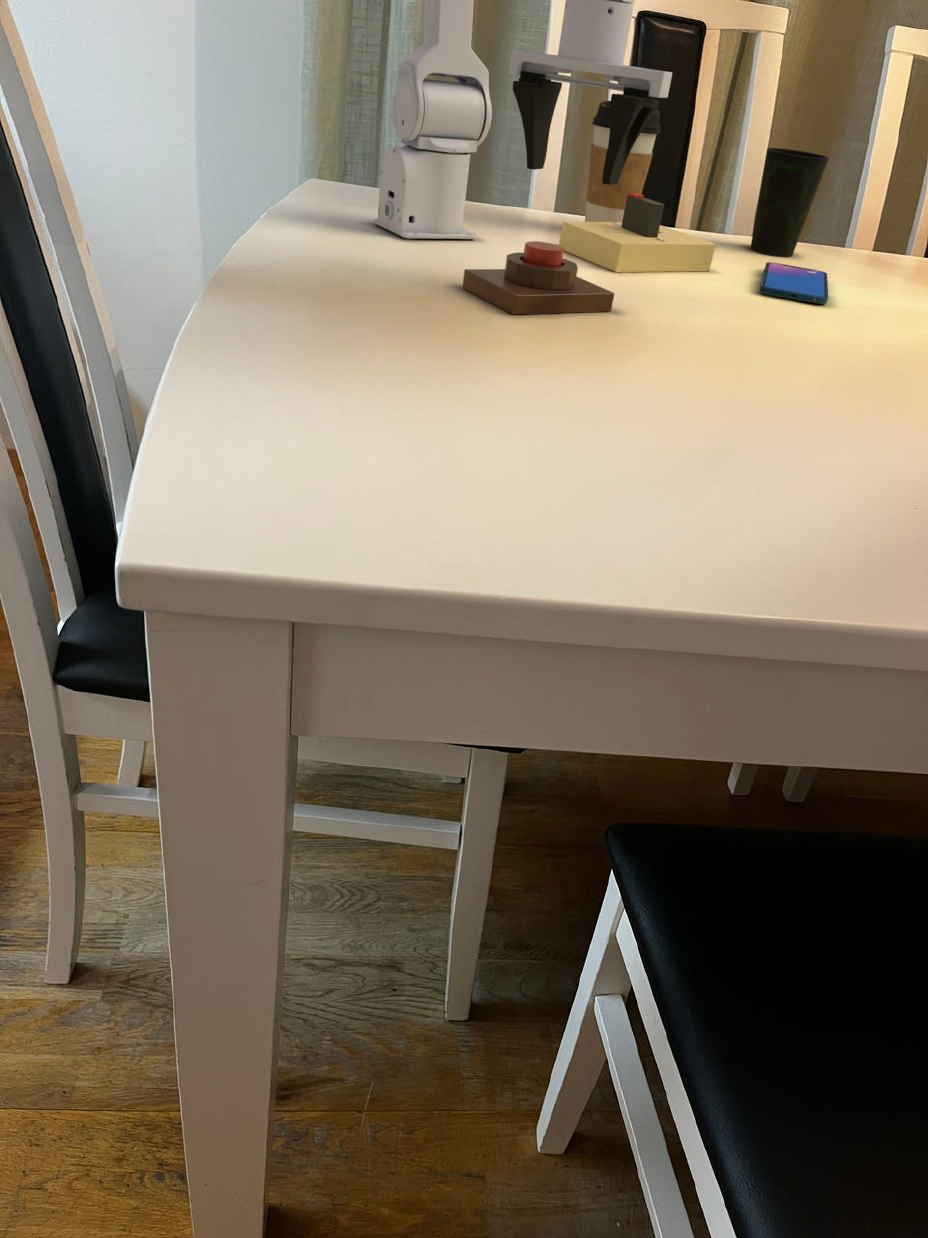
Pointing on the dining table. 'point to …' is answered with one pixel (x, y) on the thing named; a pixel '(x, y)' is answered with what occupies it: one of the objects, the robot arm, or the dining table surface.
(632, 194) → the dark grey rectangular block
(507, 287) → the button block
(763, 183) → the cup
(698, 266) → the panel
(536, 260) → the button
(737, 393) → the dining table surface
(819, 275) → the smartphone
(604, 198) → the coffee cup
